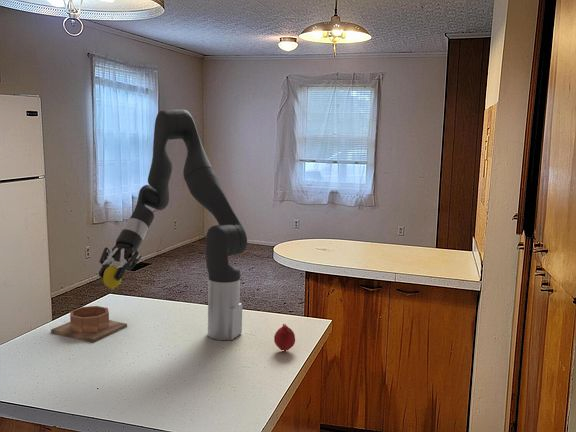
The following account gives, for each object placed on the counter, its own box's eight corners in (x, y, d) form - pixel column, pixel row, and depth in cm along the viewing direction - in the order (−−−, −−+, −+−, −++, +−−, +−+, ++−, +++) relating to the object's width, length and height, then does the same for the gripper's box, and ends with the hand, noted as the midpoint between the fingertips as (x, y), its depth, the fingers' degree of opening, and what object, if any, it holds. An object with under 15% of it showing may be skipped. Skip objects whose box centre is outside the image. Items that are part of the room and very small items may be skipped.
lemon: (103, 292, 165) (102, 267, 164) (104, 287, 170) (103, 263, 169) (121, 291, 166) (120, 266, 165) (122, 286, 172) (121, 262, 170)
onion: (294, 347, 148) (295, 320, 147) (295, 355, 143) (296, 327, 142) (273, 347, 148) (274, 320, 147) (273, 355, 142) (274, 327, 141)
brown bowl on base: (127, 326, 160) (127, 309, 159) (93, 342, 147) (93, 323, 146) (86, 318, 166) (86, 301, 165) (51, 332, 153) (50, 314, 152)
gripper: (109, 226, 175) (84, 269, 166) (144, 230, 170) (120, 274, 160) (121, 239, 181) (97, 281, 171) (155, 243, 175) (132, 287, 166)
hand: (108, 277), depth 166 cm, fingers closed on lemon, 5 cm apart
